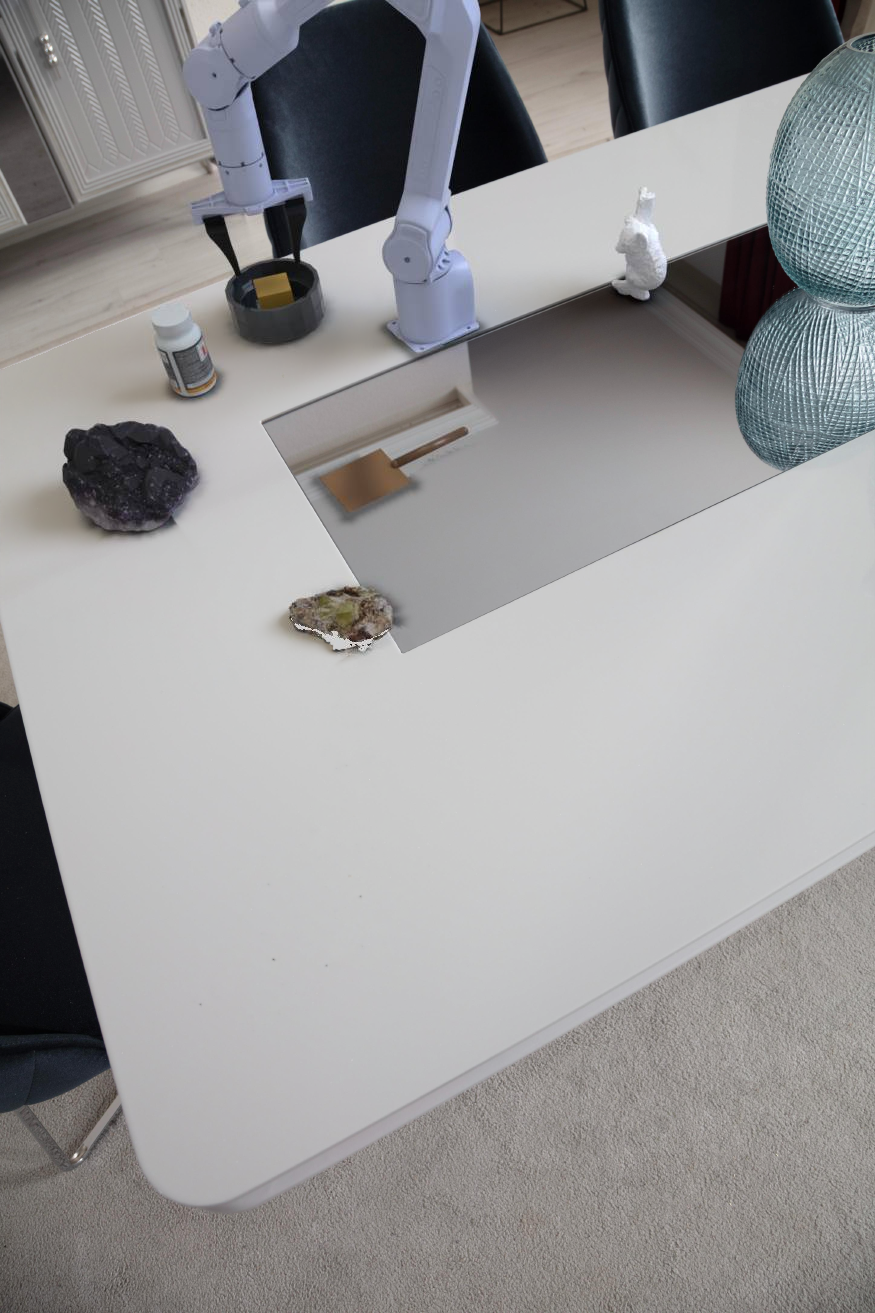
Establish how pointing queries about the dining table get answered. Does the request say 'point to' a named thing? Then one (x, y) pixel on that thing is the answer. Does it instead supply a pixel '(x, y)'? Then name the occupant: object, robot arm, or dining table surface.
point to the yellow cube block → (273, 291)
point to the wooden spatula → (377, 473)
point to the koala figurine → (641, 251)
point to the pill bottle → (183, 350)
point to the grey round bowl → (281, 319)
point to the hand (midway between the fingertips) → (267, 265)
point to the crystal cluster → (127, 474)
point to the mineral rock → (344, 613)
